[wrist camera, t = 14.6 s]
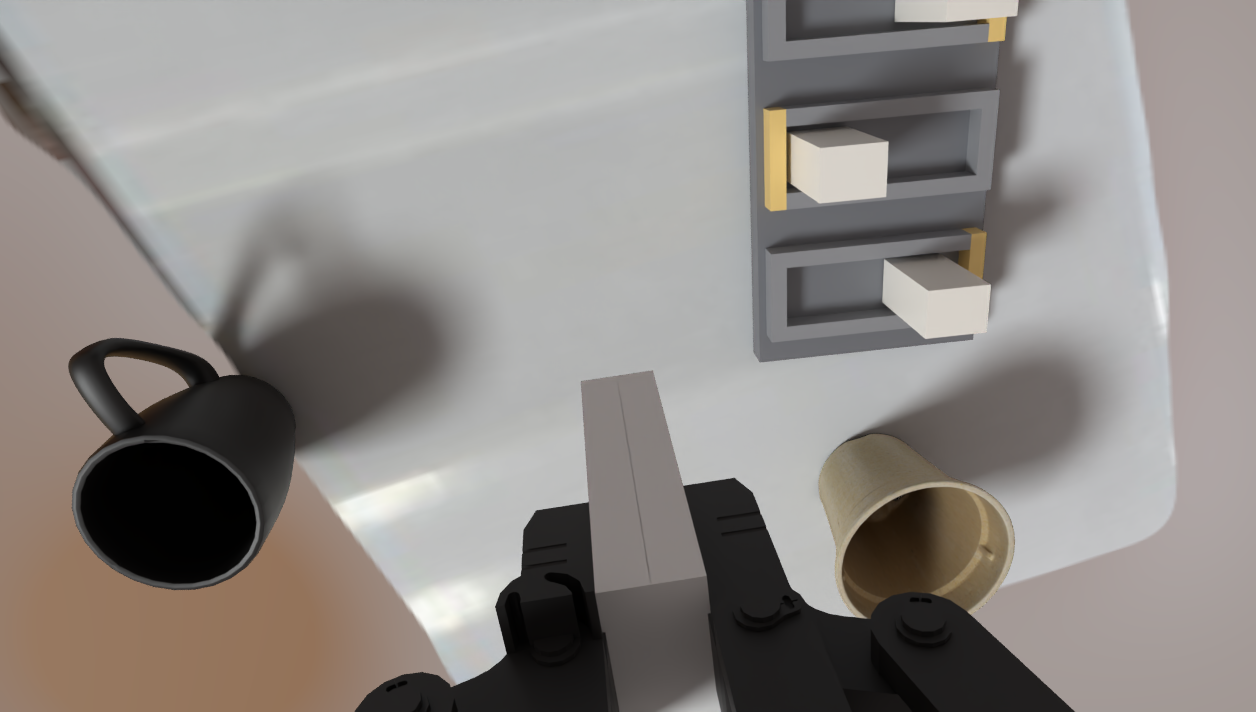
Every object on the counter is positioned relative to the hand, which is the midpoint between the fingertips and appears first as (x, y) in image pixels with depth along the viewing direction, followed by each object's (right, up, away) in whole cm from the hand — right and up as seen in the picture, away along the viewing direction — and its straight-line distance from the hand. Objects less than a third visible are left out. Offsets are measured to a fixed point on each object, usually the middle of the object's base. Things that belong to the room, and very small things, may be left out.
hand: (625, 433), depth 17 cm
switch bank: (+12, +13, +25) cm, 31 cm away
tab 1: (+9, +12, +24) cm, 28 cm away
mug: (-22, 0, +27) cm, 35 cm away
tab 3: (+15, +6, +26) cm, 31 cm away
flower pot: (+15, -6, +33) cm, 37 cm away
